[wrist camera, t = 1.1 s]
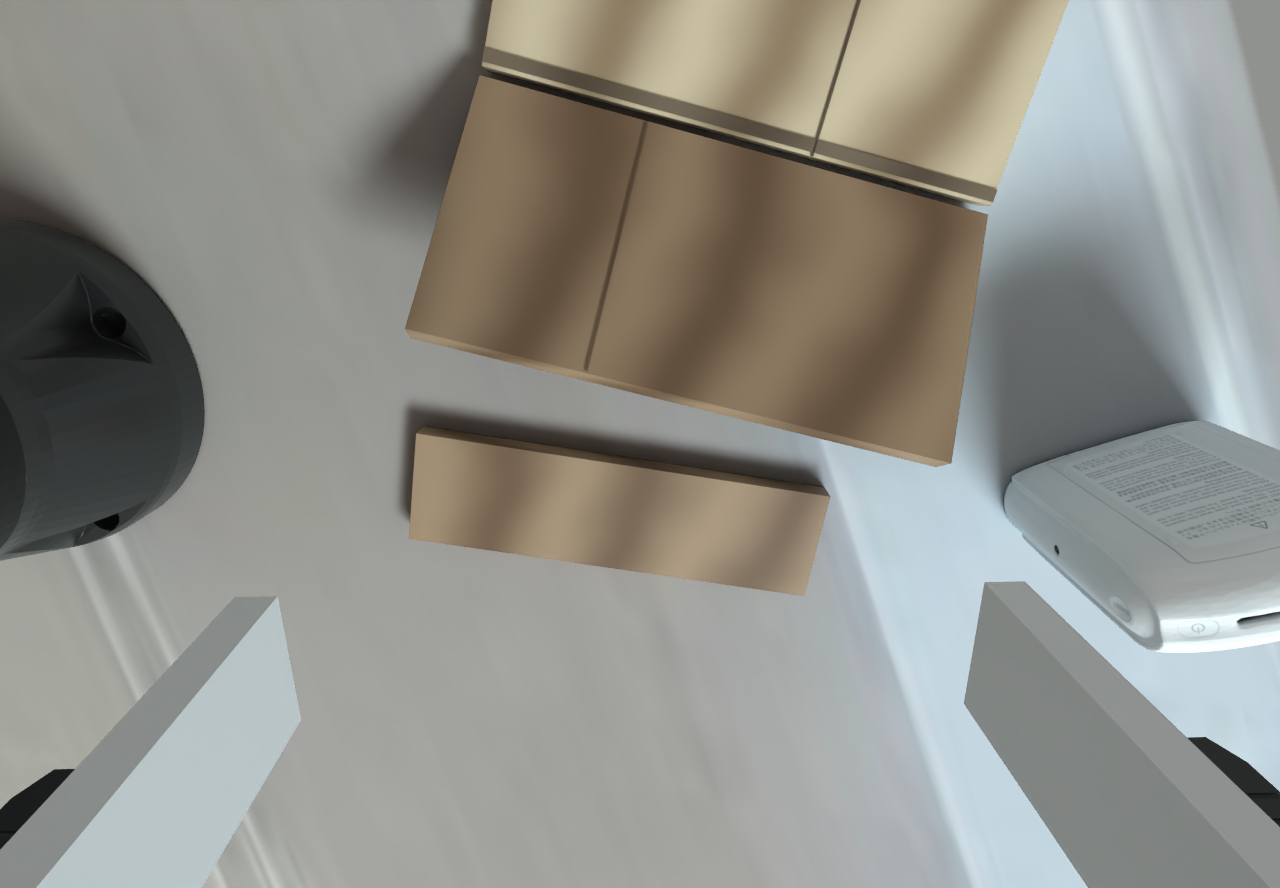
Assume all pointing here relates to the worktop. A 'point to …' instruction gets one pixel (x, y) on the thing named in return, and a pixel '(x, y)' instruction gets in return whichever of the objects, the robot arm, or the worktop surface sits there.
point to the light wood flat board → (804, 74)
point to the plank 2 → (614, 511)
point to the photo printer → (1164, 533)
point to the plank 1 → (702, 274)
